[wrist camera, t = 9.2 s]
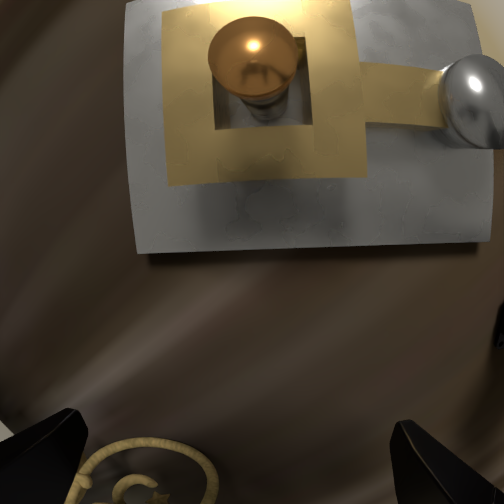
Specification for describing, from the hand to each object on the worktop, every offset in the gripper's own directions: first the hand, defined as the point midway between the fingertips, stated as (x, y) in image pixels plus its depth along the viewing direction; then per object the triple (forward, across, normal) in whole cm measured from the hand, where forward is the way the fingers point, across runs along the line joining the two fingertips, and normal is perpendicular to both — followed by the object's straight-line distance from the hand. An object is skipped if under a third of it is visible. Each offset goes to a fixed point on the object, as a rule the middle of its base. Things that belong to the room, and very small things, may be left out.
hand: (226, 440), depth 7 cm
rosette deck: (+13, -4, -10) cm, 17 cm away
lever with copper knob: (+12, -1, -10) cm, 15 cm away
